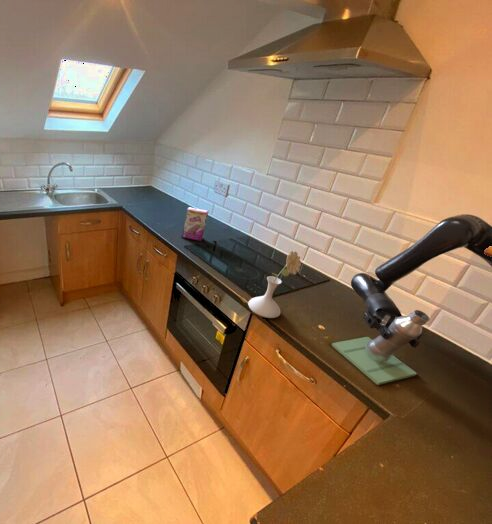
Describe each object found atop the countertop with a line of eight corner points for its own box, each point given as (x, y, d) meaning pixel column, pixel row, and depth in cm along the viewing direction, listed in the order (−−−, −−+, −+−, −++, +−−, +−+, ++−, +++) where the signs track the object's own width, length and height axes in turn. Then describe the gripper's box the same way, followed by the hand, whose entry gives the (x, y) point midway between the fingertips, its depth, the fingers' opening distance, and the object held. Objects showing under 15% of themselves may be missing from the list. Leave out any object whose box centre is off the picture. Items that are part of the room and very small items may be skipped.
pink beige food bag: (181, 237, 165) (186, 209, 157) (183, 234, 169) (188, 206, 162) (201, 241, 163) (208, 213, 155) (202, 238, 167) (208, 210, 159)
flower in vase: (257, 322, 105) (279, 259, 93) (241, 302, 114) (260, 243, 103) (289, 320, 107) (315, 259, 96) (271, 301, 117) (293, 243, 105)
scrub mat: (366, 338, 103) (367, 336, 102) (415, 375, 89) (417, 373, 89) (331, 345, 98) (332, 342, 97) (377, 385, 85) (379, 382, 84)
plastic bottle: (364, 360, 91) (412, 320, 78) (359, 342, 96) (405, 302, 83) (386, 368, 90) (440, 329, 77) (381, 350, 95) (430, 310, 82)
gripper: (362, 293, 98) (379, 322, 84) (413, 306, 94) (440, 339, 80) (352, 311, 101) (366, 342, 87) (401, 325, 98) (424, 359, 84)
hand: (401, 341), depth 84 cm, fingers closed on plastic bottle, 6 cm apart
